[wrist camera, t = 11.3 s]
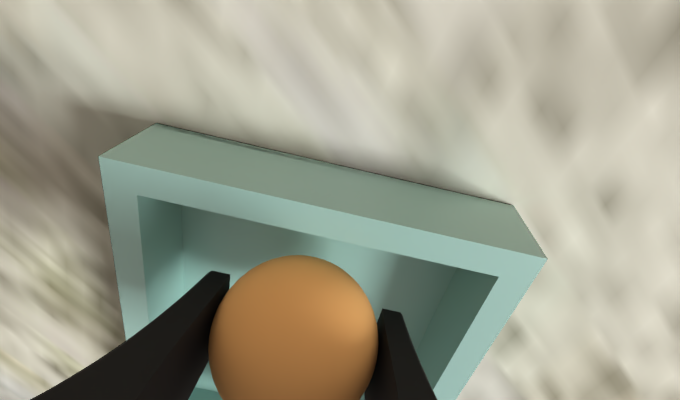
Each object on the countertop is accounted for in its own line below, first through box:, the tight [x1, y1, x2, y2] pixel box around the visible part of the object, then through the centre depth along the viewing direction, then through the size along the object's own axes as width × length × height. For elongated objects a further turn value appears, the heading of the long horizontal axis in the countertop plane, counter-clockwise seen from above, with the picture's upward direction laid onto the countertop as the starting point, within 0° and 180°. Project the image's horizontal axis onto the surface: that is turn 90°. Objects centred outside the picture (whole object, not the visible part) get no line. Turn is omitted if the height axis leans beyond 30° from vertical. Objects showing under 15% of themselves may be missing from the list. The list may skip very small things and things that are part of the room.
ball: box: [208, 255, 379, 400], centre depth 11 cm, size 5×5×5 cm
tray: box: [98, 123, 547, 400], centre depth 15 cm, size 16×13×3 cm
